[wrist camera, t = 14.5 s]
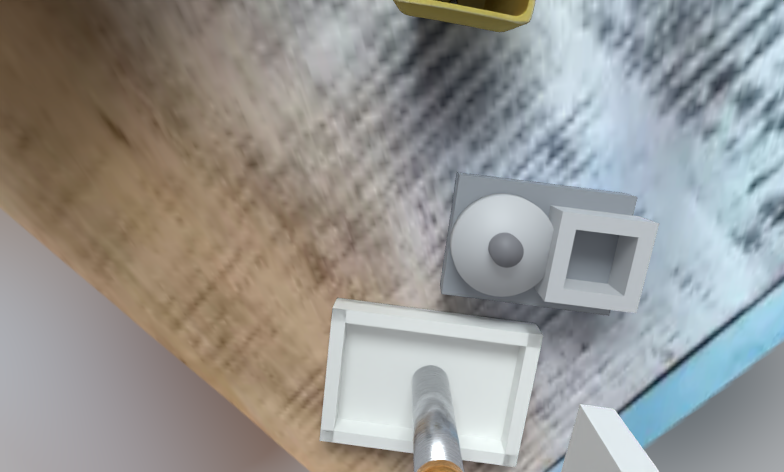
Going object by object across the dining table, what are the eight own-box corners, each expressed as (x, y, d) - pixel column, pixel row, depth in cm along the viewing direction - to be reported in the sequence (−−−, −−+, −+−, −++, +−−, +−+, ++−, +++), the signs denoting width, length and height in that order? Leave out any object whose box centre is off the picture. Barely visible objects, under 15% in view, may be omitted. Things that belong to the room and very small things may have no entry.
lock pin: (409, 395, 43) (411, 516, 30) (414, 363, 42) (418, 472, 29) (445, 400, 43) (463, 522, 30) (451, 367, 42) (472, 479, 29)
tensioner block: (440, 284, 41) (444, 307, 35) (456, 172, 39) (464, 178, 33) (602, 305, 41) (632, 332, 35) (629, 193, 38) (665, 203, 33)
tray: (324, 423, 44) (319, 440, 42) (337, 297, 42) (332, 307, 39) (510, 448, 44) (515, 467, 42) (535, 323, 41) (543, 335, 39)
